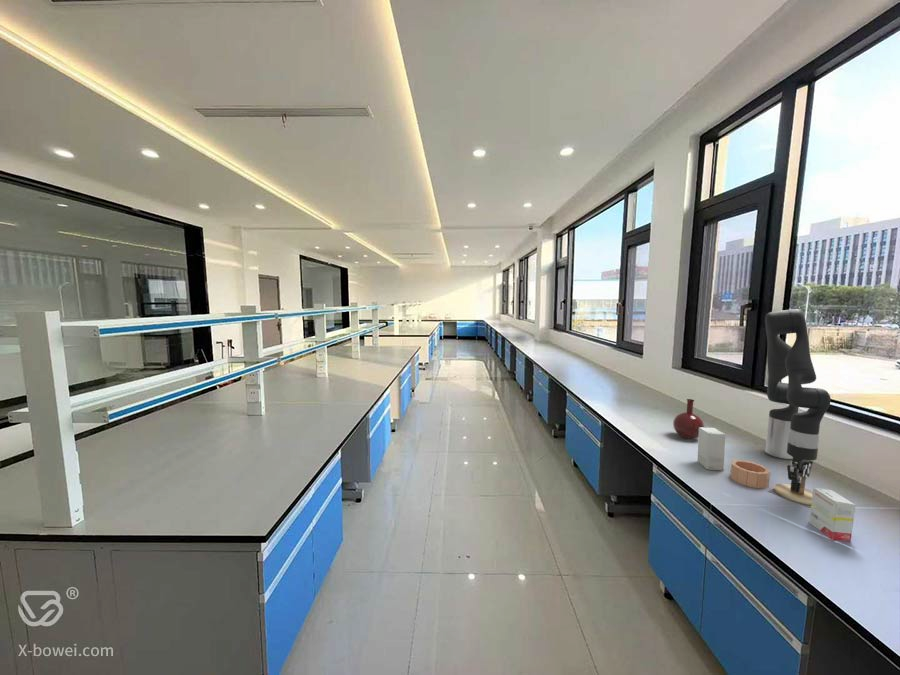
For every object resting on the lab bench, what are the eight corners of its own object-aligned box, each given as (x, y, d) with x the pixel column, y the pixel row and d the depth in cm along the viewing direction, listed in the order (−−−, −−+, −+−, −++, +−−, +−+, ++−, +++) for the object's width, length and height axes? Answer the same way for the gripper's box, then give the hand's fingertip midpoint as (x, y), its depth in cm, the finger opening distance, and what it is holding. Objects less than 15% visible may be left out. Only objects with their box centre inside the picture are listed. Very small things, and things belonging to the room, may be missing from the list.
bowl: (739, 472, 141) (740, 458, 141) (773, 484, 132) (775, 469, 131) (724, 478, 136) (726, 463, 136) (759, 491, 127) (761, 476, 126)
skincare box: (723, 471, 142) (727, 434, 140) (705, 469, 143) (708, 433, 142) (712, 462, 150) (715, 427, 148) (695, 460, 151) (698, 426, 150)
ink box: (852, 543, 100) (857, 504, 98) (831, 540, 101) (836, 502, 99) (826, 524, 108) (831, 488, 107) (807, 522, 109) (812, 486, 108)
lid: (782, 484, 131) (784, 465, 131) (827, 500, 121) (829, 480, 120) (767, 491, 126) (769, 472, 125) (812, 509, 115) (815, 488, 115)
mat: (782, 484, 132) (782, 484, 131) (827, 501, 121) (827, 500, 121) (767, 492, 126) (767, 491, 126) (812, 510, 115) (812, 509, 115)
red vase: (702, 436, 179) (705, 398, 177) (704, 445, 168) (707, 405, 166) (672, 431, 186) (674, 395, 184) (672, 439, 175) (675, 400, 173)
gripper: (797, 436, 128) (792, 480, 130) (779, 443, 122) (774, 489, 123) (826, 443, 121) (820, 490, 123) (808, 451, 115) (802, 500, 117)
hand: (797, 489), depth 123 cm, fingers closed on lid, 3 cm apart
